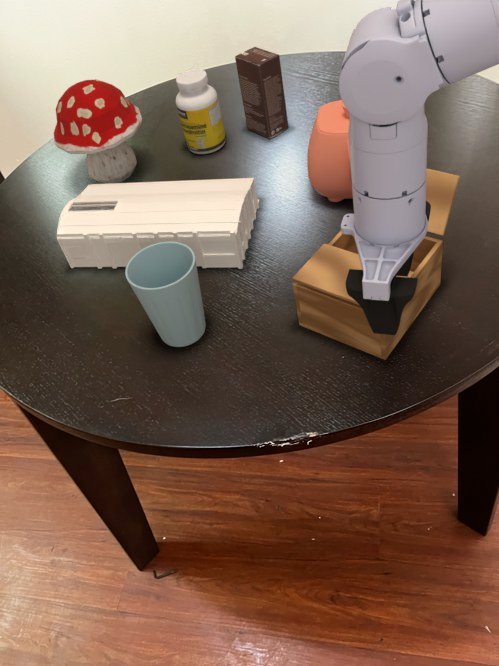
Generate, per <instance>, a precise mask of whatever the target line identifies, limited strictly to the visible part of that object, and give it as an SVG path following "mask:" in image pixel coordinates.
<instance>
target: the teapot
mask: <svg viewBox="0 0 499 666" xmlns="http://www.w3.org/2000/svg"><path fill="white" fill-rule="evenodd" d="M349 125H350V121H349V116H348V110H347V108H346V107H345V105H344V104H343V102H342V99H339V100H334V101H330V102H328V103H325V104H323V105H322V106H321V107H319V109H318V112H317V113H316V117H315V120H314V123H313V126H312V130H311V132H310V137H309V142H308V148H307V157H306V158H307V175H308V180H309V182H310V185H311V186H312V187H313V190H315V191H316V192H317V193H318V194H319V195H321V196H323V197H327V199H328V201H330V202H332V203H338V202H341V201H343V200H344V199H346V200H347V199H352V200H353V192H352V179H351V165H350V151H349V137H348V128H349Z"/></svg>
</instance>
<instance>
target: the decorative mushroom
mask: <svg viewBox="0 0 499 666" xmlns="http://www.w3.org/2000/svg"><path fill="white" fill-rule="evenodd" d="M55 116H56V123H55V127H54V130H53V139H54V141H53V142H54V145H55V146H56V147H57V148H58V149H59V150H61V151H64V152H66V153H67V154H70V155H86V156H85V164H86V171H87V174H88V176H89V178H91V179H92V180H95V181H96V182H97V183H98V184H113V183H123V182H124V181H125V180H127V179H128V178H130V177H131V176H132V174H133V173H134V172H135V170H136V166H137V164H138V161H137V158H136V154H135V151H134V150H133V148H132V147H131V146H130V145H129V144H128V143H127V142H125V141H127V140H128V139H130V138H132V137H133V136H134V135H135V134H136V132H137V131H138V129H139V128H140V127H141V125H142V124H143V117H142V114H141V111H140V108H139V107H138V106H136V105H135V104H133V103H131V102H130V101H129V100H128V99H127V97H126V96H125V94H124V93H123V91H122V90H121V89H120V88H119V87H117V86H115V85H113V84H111V83H109V82H106V81H104V80H99V79H85V80H81V81H77V82H76V83H75V84H73V85H71V86H69V87H67V89H66V90H65V91H64V92H63V94H62V95H61V97H59V98H58V101H57V104H56V107H55Z"/></svg>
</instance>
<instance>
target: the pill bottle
mask: <svg viewBox="0 0 499 666" xmlns="http://www.w3.org/2000/svg"><path fill="white" fill-rule="evenodd" d="M175 82H176V88H177V89H178V92H177V95H176V96H175V106H176V109H177V114H178V117H179V121H180V125H181V129H182V133H183V136H184V139H185V140H184V141H185V144H186V147H187V149H188V150H189V151H190V152H191V153H192V154H197V155H208V154H212V153H215V152H217V151H219V150H220V149H221V148H223V146H225V144H226V142H227V135H226V130H225V126H224V121H223V116H222V110H221V106H220V102H219V97H218V93H217V91H216V89H215V88H214V87H213V86H211V85H210V84H209V78H208V74H207V72H206V70H205V69H201V68H192V69H187V70H184V71H182V72H180V73H179V74H178V75H177V76H176V78H175Z"/></svg>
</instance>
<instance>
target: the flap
mask: <svg viewBox="0 0 499 666" xmlns="http://www.w3.org/2000/svg"><path fill="white" fill-rule="evenodd" d="M460 178H461V177H460V175H458V174H453V173H448V172H446V171H445V172H444V171H441V170H437V169H436V170H435V169H432V168H427V170H426V201H427V202H429V203H430V205H431V211H430V216H429V221H428V229H427V233H432V234H436V235H438V236H444V235H445V232H446V228H447V225H448V221H449V218H450V213H451V210H452V206H453V203H454V199H455V196H456V192H457V188H458V185H459V181H460Z"/></svg>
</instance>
